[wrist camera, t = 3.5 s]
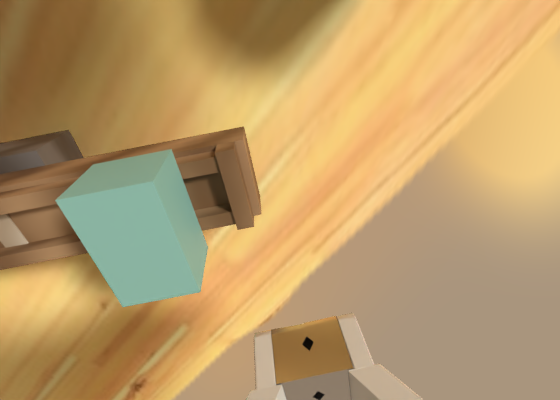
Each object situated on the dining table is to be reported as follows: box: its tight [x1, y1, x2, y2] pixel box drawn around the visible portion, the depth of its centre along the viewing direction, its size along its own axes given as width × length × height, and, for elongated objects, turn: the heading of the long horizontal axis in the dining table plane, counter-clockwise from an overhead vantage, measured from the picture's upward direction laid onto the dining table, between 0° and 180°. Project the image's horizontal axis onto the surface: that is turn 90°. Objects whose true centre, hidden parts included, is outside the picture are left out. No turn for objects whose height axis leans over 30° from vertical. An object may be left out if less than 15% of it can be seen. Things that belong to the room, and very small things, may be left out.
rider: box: [55, 149, 208, 307], centre depth 16 cm, size 4×6×5 cm, turn 10°
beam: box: [0, 127, 261, 270], centre depth 21 cm, size 30×7×8 cm, turn 100°
